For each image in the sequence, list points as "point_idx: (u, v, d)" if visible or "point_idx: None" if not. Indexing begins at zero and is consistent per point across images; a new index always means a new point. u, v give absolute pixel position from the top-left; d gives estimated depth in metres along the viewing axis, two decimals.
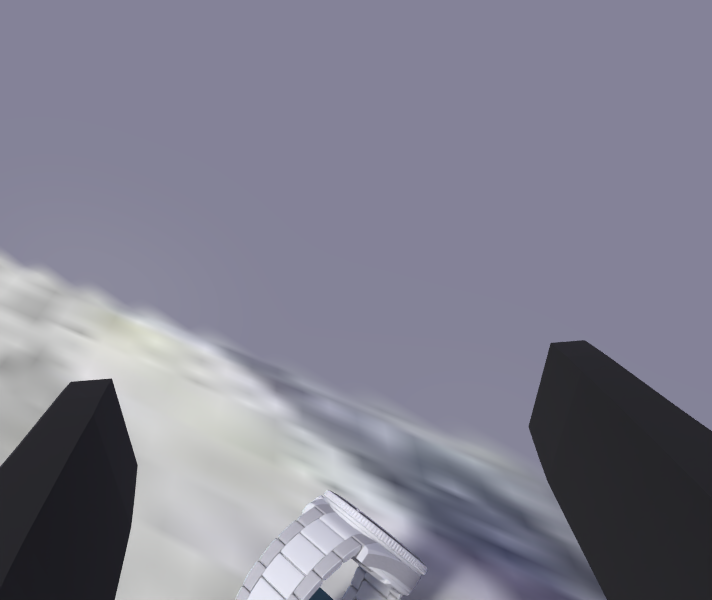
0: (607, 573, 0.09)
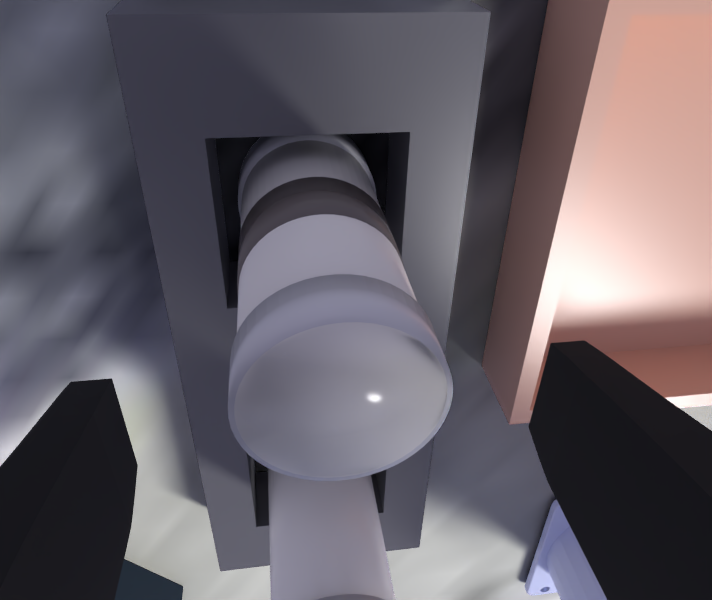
0: (607, 573, 0.09)
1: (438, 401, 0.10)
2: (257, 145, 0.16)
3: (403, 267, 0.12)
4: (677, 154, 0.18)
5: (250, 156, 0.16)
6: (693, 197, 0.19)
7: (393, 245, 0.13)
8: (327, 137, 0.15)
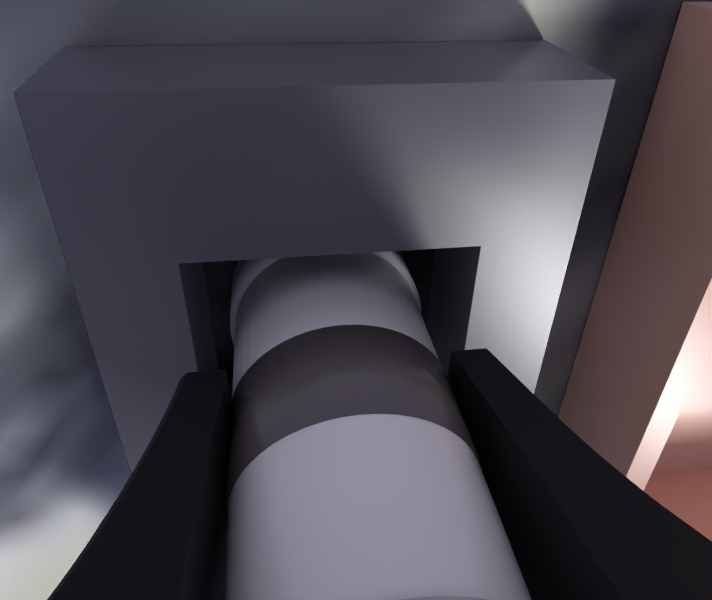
0: None
1: None
2: None
3: None
4: None
5: (247, 262, 0.11)
6: None
7: (469, 447, 0.08)
8: None
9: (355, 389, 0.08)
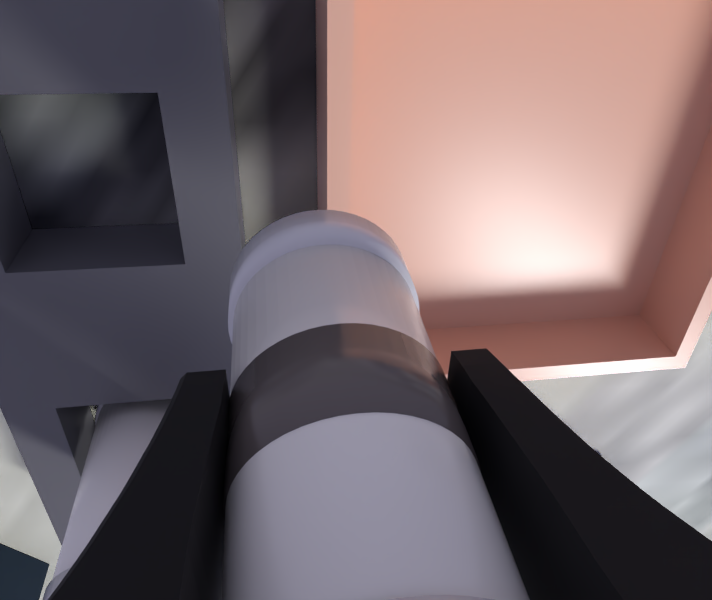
0: None
1: None
2: (255, 245, 0.11)
3: (485, 486, 0.08)
4: (475, 125, 0.18)
5: (245, 261, 0.11)
6: (501, 170, 0.19)
7: (467, 446, 0.08)
8: (354, 239, 0.11)
9: (352, 388, 0.08)
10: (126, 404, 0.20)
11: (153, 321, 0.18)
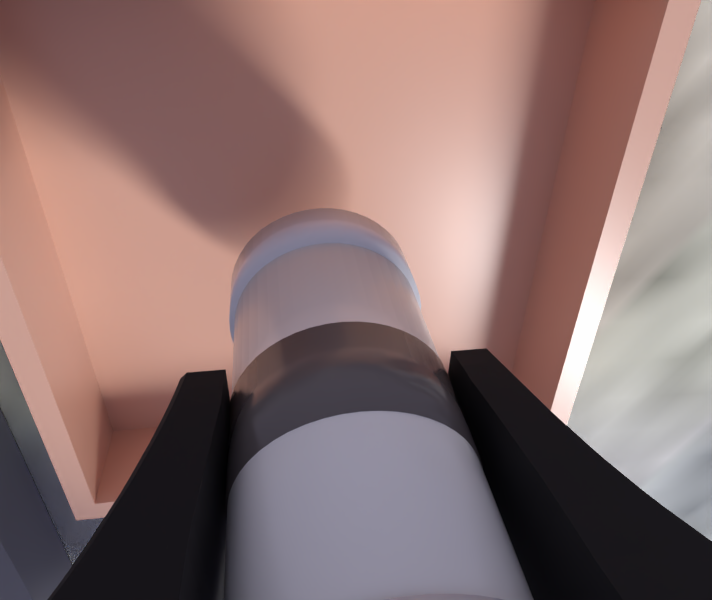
0: None
1: None
2: (256, 243, 0.11)
3: (488, 485, 0.08)
4: (229, 177, 0.13)
5: (246, 260, 0.11)
6: None
7: (470, 444, 0.08)
8: (355, 237, 0.11)
9: (355, 386, 0.08)
10: None
11: None
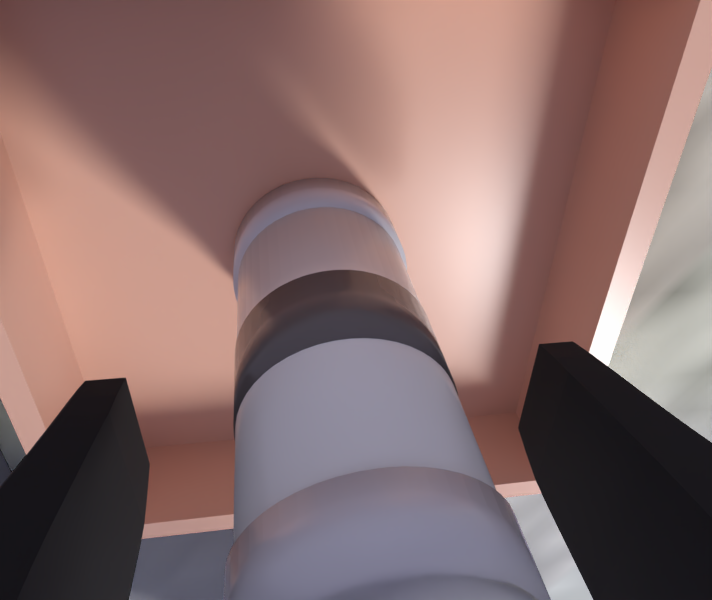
0: (594, 575, 0.09)
1: None
2: (257, 209, 0.13)
3: None
4: (227, 191, 0.13)
5: (248, 224, 0.13)
6: None
7: (445, 371, 0.09)
8: (347, 202, 0.12)
9: (345, 319, 0.09)
10: None
11: None
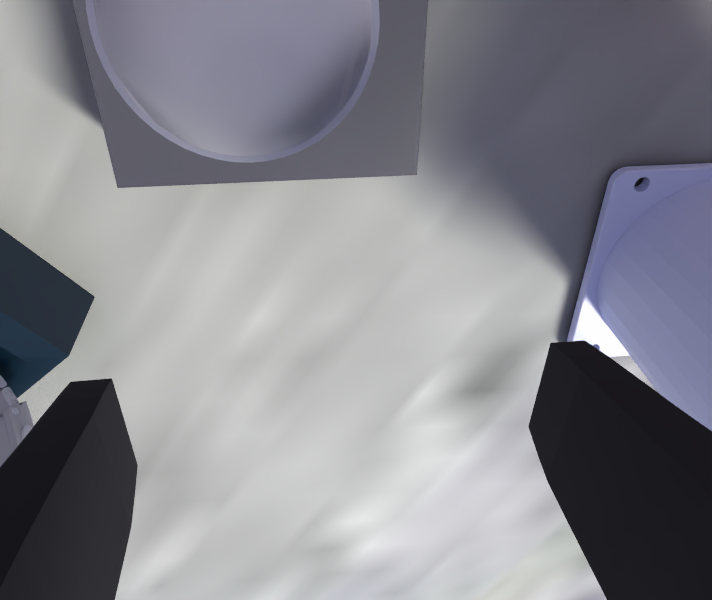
0: (607, 573, 0.09)
1: None
2: None
3: None
4: None
5: None
6: None
7: None
8: None
9: None
10: None
11: None
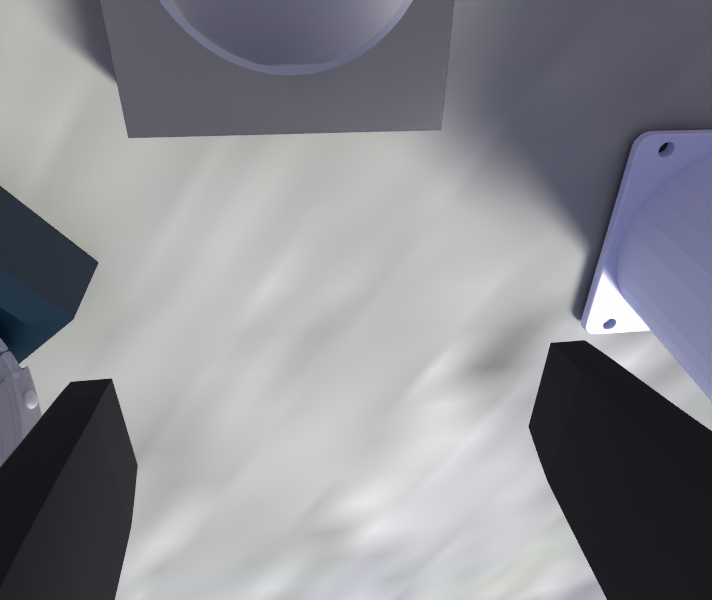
0: (607, 573, 0.09)
1: None
2: None
3: None
4: None
5: None
6: None
7: None
8: None
9: None
10: None
11: None
